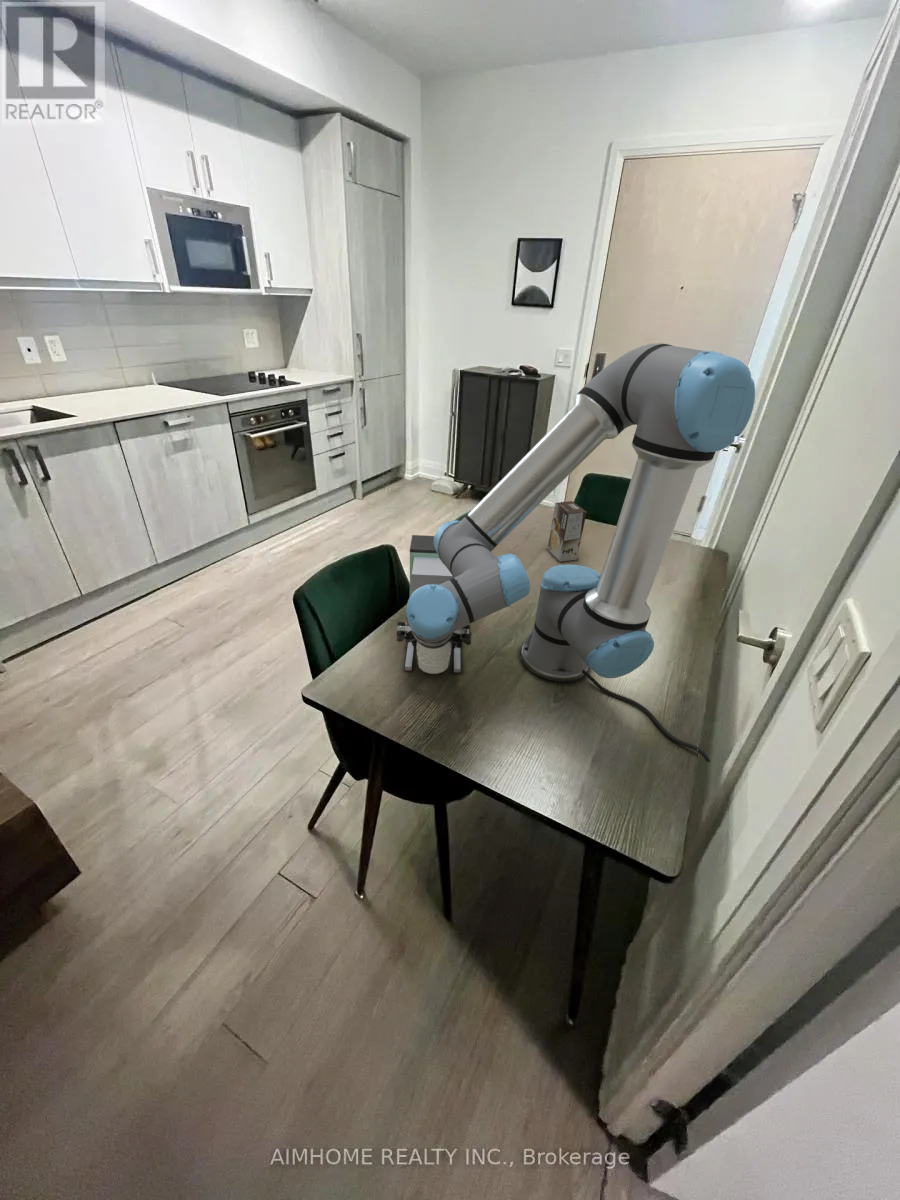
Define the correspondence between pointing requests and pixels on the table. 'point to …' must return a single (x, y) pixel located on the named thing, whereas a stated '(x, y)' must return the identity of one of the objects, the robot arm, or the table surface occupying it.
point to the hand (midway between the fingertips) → (434, 641)
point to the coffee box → (566, 530)
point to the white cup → (433, 658)
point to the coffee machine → (426, 579)
